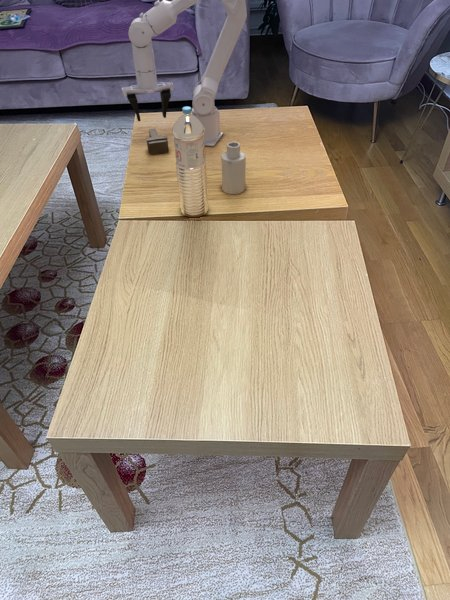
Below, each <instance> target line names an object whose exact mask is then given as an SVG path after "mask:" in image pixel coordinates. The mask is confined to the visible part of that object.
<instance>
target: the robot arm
mask: <svg viewBox="0 0 450 600" xmlns="http://www.w3.org/2000/svg"><path fill="white" fill-rule="evenodd" d="M200 1H201V0H171V1H170V0H161V1H160V0H156V1H155V2H154V4H153V5H154V6H153V7H151V8H150V9H148V10H147V11H145V12H141V13H139V17H136V18H134V19H133V20H132V22H131V24H130V26H129V27H128V31H127V32H128V34H127V35H128V39H129V41H130V43H131V48H132V51H131V52H132V58H133V66H134V73H135V80H136V84H132V85H130V86H125V87H121V92H122V93H121V94H122V97H123V98H127V100H128V102H129V104H130V106H131V107H132V109H133V110H134V111H133V112H134V113H135V115H136V120H137V121H138V122H141V115H140V111H139V103H138V97H137V95H146V94H154V93H159V95H160V101H161V113H162V117H163V119H166V118H167V112H168V111H167V110H168V107H169V103H170V100H171V98H172V92H174V91H175V88H174V83H173V81H168V82H167V81H163V82H160V81H159V82H158V78H157V77H158V76H157V67H156V60H155V52H154V49H153V48H154V47H153V40H152V38H153V37H157V36H159V35H160V34H163V32H165V31H167V30H168V29H170V28H171V27H173V26H174V25H175V24H176V23H177V20H178V15H179V14H181V13H183V12H184V11H186V10H188V9H189V8H190V7H192V6H193V5H195V4H197V3H198V2H200ZM220 1H221V2H222V4H223V5H224V8H225V12H226V14H227V15H226V18H225V20H224V23H223V25H222V28H221V31H220V33H219V36H218V38H217V41H216V43H215V45H214V48H213V50H212V53H211V55H210V58H209V61H208V63H207V66H206V68H205V71H204V73H203V74H202V76H201V78H200V80H199V82H198V83H196V84H195V86H194V87H193V89H192V103H191V104H192V107H191V112H192V113H191V114H192V115H194V116H195V117H196V118H198V119H199V120H200V121H201V123H202V124H203V126H204V145H205V147H214V146H216V144H217V142H218V141H219V140H220V139H221V137H222V136H223V135H224V132H222V131H221V119H220V118H221V115H220V111H219V109H218V108H217V107H216V106H215V98H216V95H217V92H218V89H219V85H220V81H221V80H222V77H223V75H224V73H225V70H226V68H227V65H228V64H229V60H230V58H231V56H232V54H233V51H234V49H235V47H236V45H237V42H238V39H239V37H240V35H241V32H242V30H243V28H244V26H245V23H246V22H247V18H248V13H247V12H248V11H247V4H246V0H220Z"/></svg>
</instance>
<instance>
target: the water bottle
mask: <svg viewBox="0 0 450 600" xmlns="http://www.w3.org/2000/svg"><path fill="white" fill-rule="evenodd" d="M181 111H182V115H181V116H179V118H177V120H175V122H174V124H173V126H172V136H173V141H174V143H173V144H174V153H175V168H176V177H177V187H178V197H179V207H180V211H181V213H182V215H184V216H185V217H188V218H200V217H202V216H204V215H206V214H207V212H208V210H209V196H208V195H209V193H208V178H207V177H208V176H207V173H208V172H207V160H206V148H205V147H206V145H204V126H203V124H202V123H201V121H200V120H199V119H198V118H196V117H195V116H194V115H192V107H191V106H187V105H186V106H183V107H182V108H181Z"/></svg>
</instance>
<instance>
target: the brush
mask: <svg viewBox="0 0 450 600" xmlns="http://www.w3.org/2000/svg"><path fill="white" fill-rule="evenodd" d="M148 134H149V135H148V136H149V137H145V140H146V147H147V151H148V154H150V156H151V155H158V154H167V153H169V151H170V150H169V140H168V136H167V135H166V134H165V135H159V133H158V131H157V129H156V128H149V129H148Z"/></svg>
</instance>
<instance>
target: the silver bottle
mask: <svg viewBox="0 0 450 600" xmlns="http://www.w3.org/2000/svg"><path fill="white" fill-rule="evenodd" d="M220 157H221V189H222V191H223V192H224V193H226V194H227V195H238V194H241V193H243V192H244V191H245V190H246V165H247V164H246V163H247V161H246V160H247V159H246V158H247V157H246V154H245V152H242V151H241V144H240V142H238V141H229V142H227V144H226V151H225V152H223V153H222V154H221V155H220Z"/></svg>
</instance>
